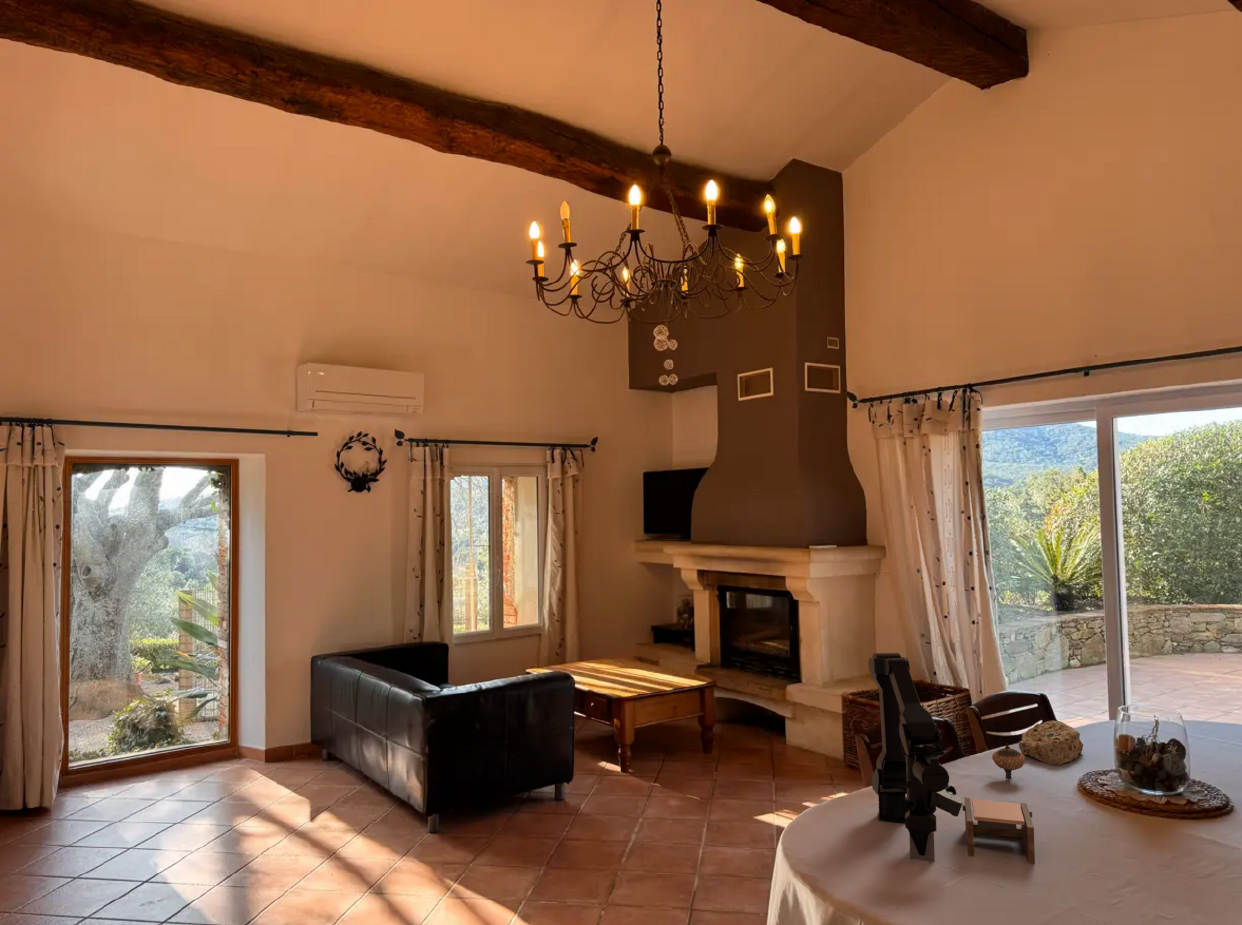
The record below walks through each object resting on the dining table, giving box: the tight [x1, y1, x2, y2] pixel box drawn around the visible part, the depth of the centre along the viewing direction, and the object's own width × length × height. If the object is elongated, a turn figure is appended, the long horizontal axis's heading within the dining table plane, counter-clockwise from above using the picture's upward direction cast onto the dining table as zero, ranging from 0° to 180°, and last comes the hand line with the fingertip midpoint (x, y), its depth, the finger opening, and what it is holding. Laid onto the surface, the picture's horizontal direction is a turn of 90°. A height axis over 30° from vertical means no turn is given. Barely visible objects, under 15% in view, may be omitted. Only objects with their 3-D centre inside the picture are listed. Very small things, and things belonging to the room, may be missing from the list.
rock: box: [1018, 720, 1084, 766], centre depth 258 cm, size 21×14×10 cm
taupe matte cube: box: [908, 832, 936, 862], centre depth 189 cm, size 5×5×6 cm
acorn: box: [991, 742, 1026, 781], centre depth 236 cm, size 8×8×10 cm
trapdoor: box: [971, 798, 1025, 830], centre depth 193 cm, size 10×11×5 cm
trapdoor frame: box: [962, 796, 1036, 865], centre depth 193 cm, size 14×15×8 cm
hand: (922, 848), depth 189 cm, fingers open, 7 cm apart
